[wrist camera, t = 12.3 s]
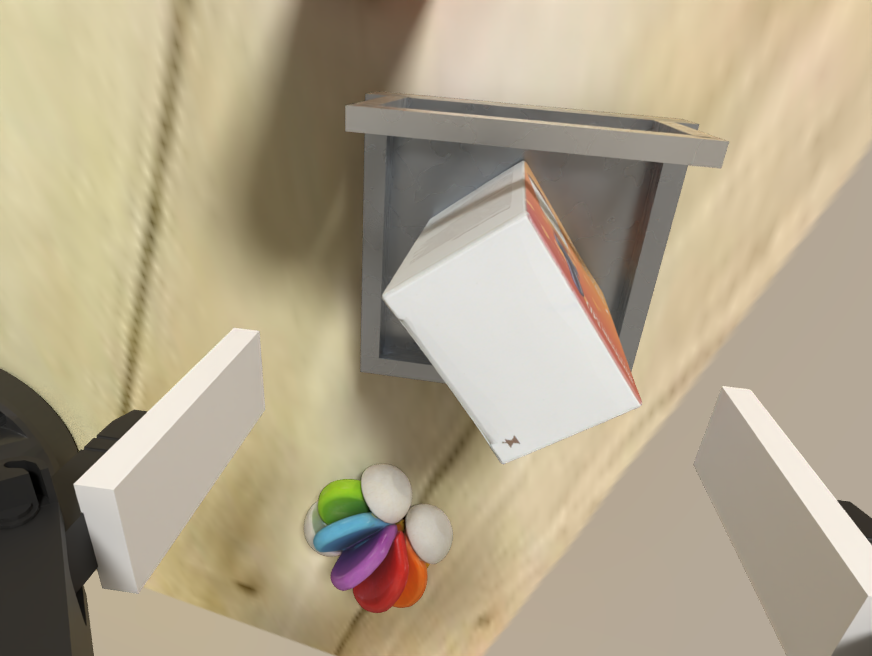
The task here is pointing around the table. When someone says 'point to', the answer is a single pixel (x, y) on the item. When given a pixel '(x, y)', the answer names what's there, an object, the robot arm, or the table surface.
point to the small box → (513, 318)
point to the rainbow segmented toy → (378, 537)
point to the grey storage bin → (557, 176)
